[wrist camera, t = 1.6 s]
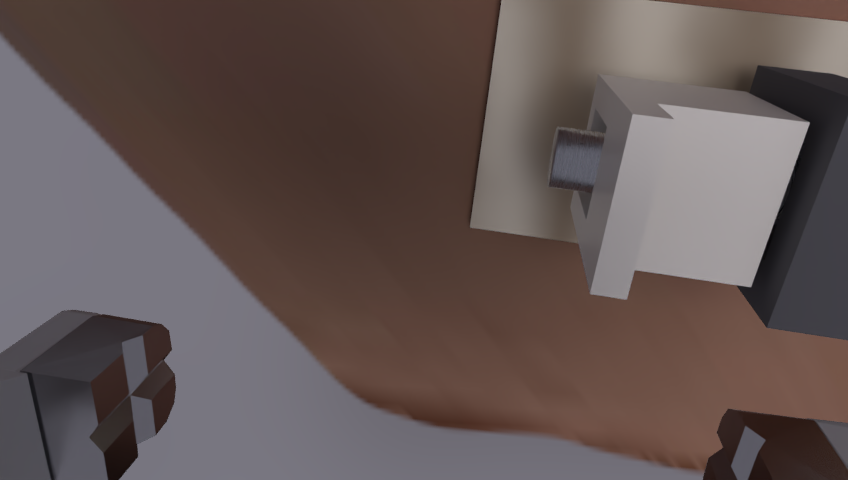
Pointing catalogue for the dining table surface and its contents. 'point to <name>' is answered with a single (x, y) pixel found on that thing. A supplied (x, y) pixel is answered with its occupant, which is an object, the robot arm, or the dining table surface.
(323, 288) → the dining table surface
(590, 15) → the rod holder plate
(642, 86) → the sleeve
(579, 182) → the pipe
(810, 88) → the charcoal grey box
